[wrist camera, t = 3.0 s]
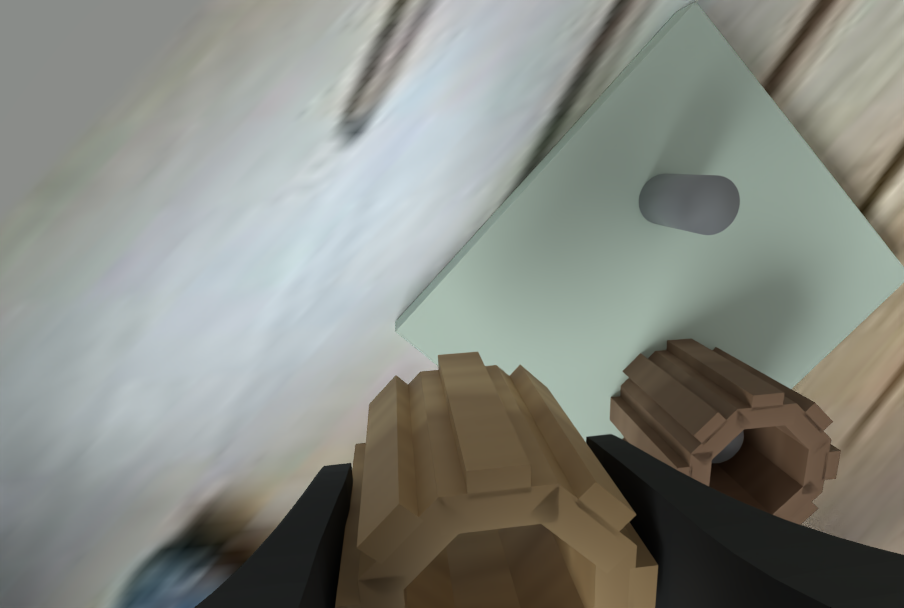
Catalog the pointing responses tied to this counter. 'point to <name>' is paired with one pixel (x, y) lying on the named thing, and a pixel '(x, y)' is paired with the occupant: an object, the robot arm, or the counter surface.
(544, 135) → the counter surface
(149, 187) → the counter surface
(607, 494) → the oak cog
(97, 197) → the counter surface
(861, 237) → the board
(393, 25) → the counter surface
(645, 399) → the walnut cog
